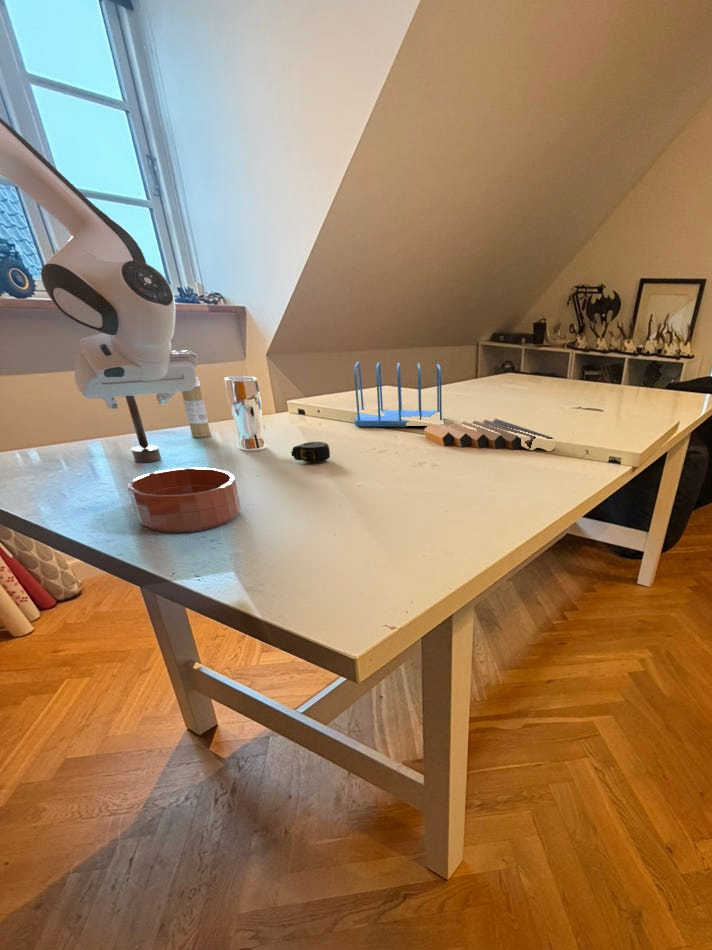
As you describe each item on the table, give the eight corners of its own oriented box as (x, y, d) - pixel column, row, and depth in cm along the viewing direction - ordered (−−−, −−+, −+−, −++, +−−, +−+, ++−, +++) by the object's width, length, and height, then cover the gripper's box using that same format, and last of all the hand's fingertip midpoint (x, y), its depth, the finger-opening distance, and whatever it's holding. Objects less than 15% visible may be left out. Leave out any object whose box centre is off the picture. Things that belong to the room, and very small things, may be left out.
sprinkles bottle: (206, 433, 138) (193, 375, 131) (214, 436, 136) (202, 377, 128) (188, 435, 135) (174, 376, 128) (196, 438, 133) (182, 378, 125)
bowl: (139, 540, 80) (126, 501, 77) (139, 508, 91) (128, 472, 88) (247, 526, 87) (240, 489, 83) (235, 498, 98) (228, 464, 94)
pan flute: (555, 450, 138) (500, 430, 155) (557, 436, 136) (500, 418, 153) (474, 461, 126) (423, 438, 143) (474, 446, 124) (423, 424, 141)
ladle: (134, 463, 113) (108, 377, 104) (135, 457, 117) (109, 374, 108) (161, 461, 115) (138, 377, 106) (160, 456, 119) (138, 373, 110)
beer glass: (250, 443, 131) (238, 375, 123) (274, 446, 130) (264, 377, 122) (230, 449, 126) (216, 378, 118) (255, 452, 124) (242, 381, 116)
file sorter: (441, 417, 168) (441, 362, 160) (444, 429, 154) (445, 369, 145) (360, 415, 165) (355, 359, 157) (355, 427, 151) (350, 366, 142)
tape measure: (312, 456, 124) (310, 439, 122) (337, 460, 122) (335, 443, 120) (292, 462, 119) (289, 445, 117) (317, 467, 116) (315, 449, 114)
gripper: (191, 337, 104) (182, 386, 114) (68, 339, 91) (71, 394, 102) (207, 365, 104) (197, 411, 114) (86, 371, 91) (87, 423, 101)
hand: (137, 403), depth 108 cm, fingers open, 8 cm apart
